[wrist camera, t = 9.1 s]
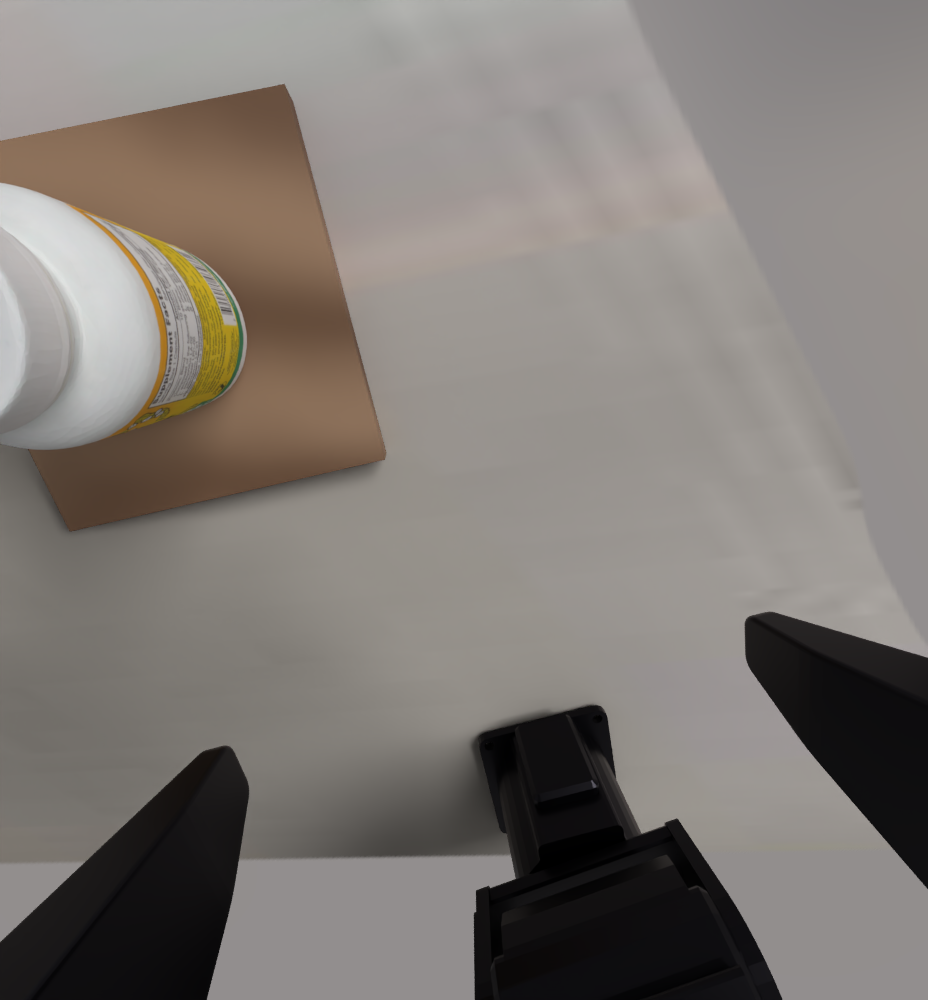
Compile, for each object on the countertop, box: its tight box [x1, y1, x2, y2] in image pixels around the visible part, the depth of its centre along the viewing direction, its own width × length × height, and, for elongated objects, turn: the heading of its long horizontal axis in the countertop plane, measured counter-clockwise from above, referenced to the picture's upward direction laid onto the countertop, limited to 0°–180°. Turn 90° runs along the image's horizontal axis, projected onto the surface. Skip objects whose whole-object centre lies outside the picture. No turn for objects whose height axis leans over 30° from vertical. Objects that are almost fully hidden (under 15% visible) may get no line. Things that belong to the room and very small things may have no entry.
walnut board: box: [0, 84, 386, 531], centre depth 17 cm, size 12×12×1 cm
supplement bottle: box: [0, 183, 247, 450], centre depth 12 cm, size 5×5×10 cm
